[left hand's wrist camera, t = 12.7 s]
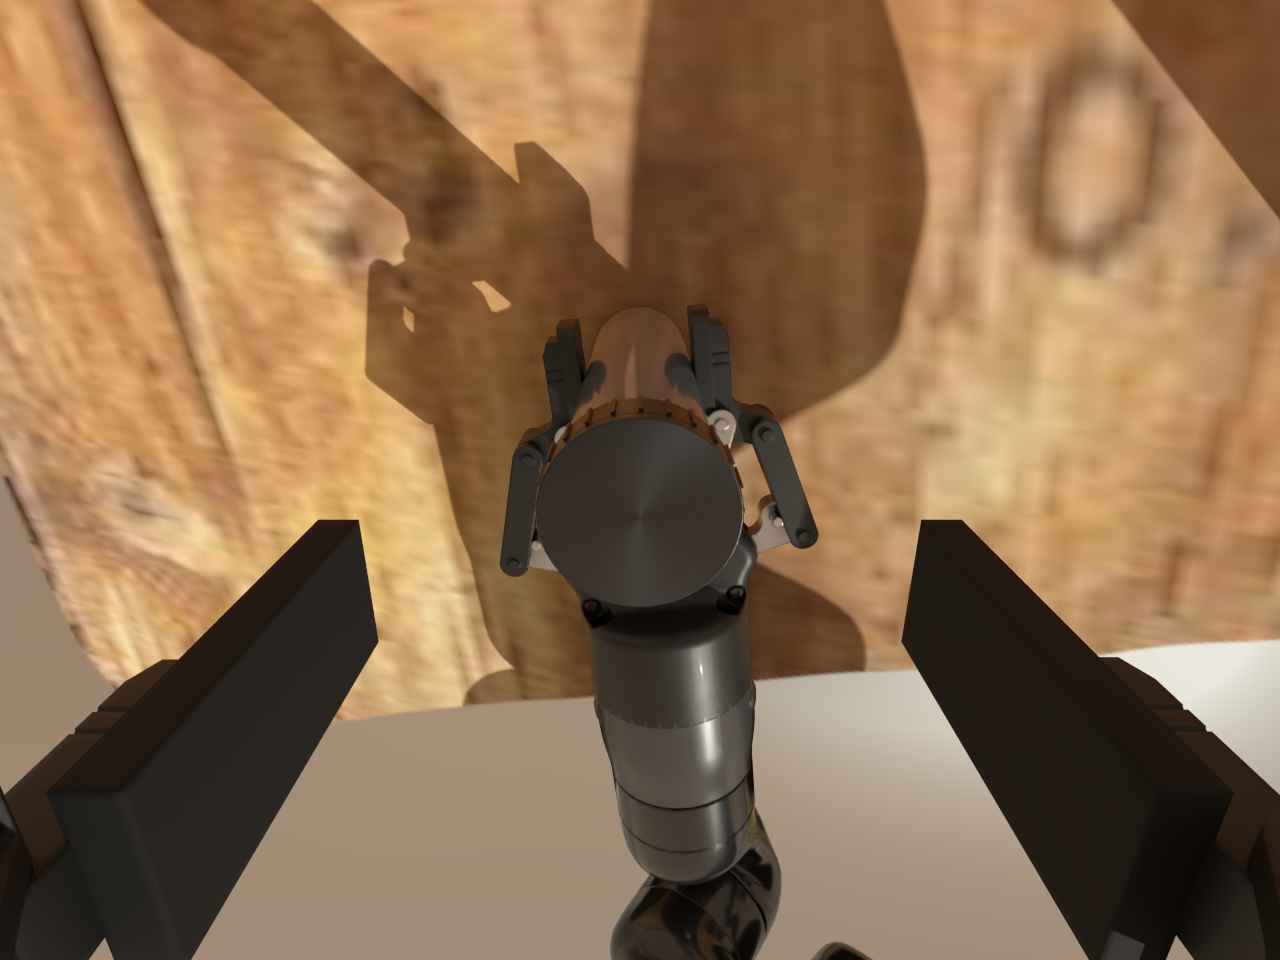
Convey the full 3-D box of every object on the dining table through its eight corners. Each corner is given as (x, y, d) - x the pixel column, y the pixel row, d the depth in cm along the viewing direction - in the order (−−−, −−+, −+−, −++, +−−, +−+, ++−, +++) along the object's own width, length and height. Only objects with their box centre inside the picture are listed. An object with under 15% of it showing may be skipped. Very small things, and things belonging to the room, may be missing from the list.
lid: (501, 470, 18) (487, 497, 16) (661, 353, 17) (663, 369, 15) (621, 607, 19) (619, 644, 18) (775, 507, 18) (787, 537, 17)
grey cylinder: (576, 343, 34) (510, 492, 17) (649, 287, 33) (659, 384, 16) (630, 414, 35) (622, 619, 18) (703, 362, 34) (766, 526, 17)
